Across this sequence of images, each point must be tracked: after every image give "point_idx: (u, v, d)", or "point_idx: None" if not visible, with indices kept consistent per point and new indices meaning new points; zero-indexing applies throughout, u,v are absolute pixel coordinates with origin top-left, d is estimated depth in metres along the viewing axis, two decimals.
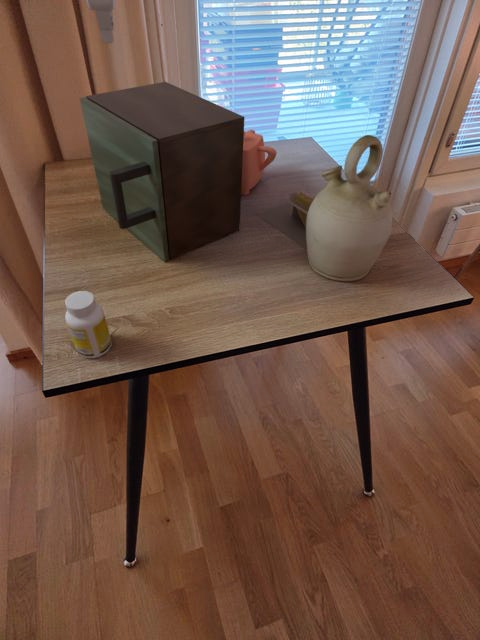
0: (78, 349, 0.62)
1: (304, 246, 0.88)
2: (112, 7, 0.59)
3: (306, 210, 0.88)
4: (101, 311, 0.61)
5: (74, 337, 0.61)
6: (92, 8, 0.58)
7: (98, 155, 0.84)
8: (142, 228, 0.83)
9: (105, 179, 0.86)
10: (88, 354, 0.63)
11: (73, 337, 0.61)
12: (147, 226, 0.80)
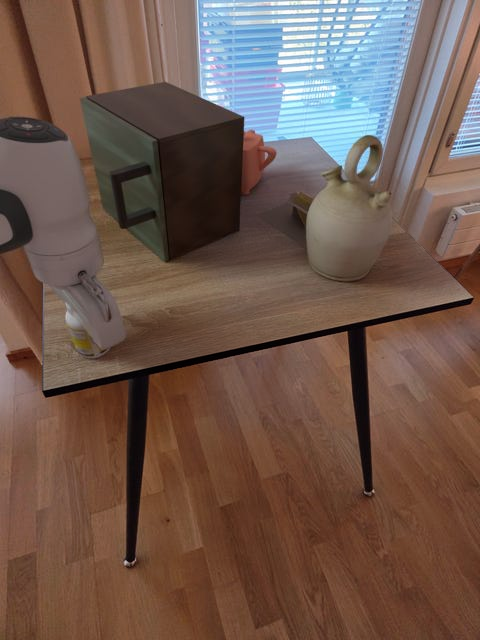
0: (78, 349, 0.62)
1: (304, 246, 0.88)
2: None
3: (306, 210, 0.88)
4: None
5: (74, 337, 0.61)
6: None
7: (98, 155, 0.84)
8: (142, 228, 0.83)
9: (105, 179, 0.86)
10: (88, 354, 0.63)
11: (73, 337, 0.61)
12: (147, 226, 0.80)
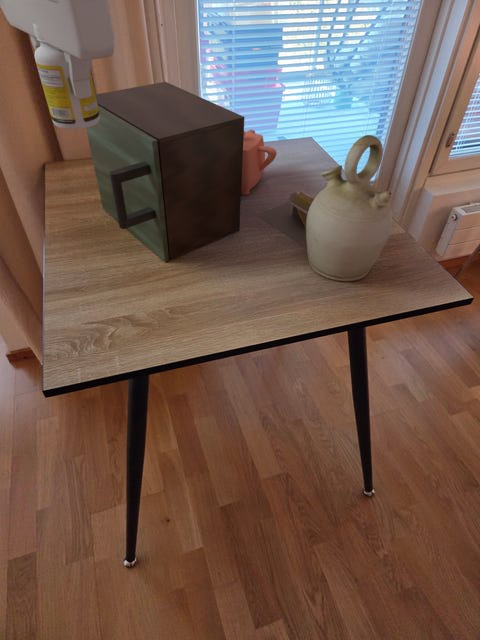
0: (54, 112, 0.47)
1: (304, 246, 0.88)
2: (9, 21, 0.48)
3: (306, 210, 0.88)
4: None
5: (48, 87, 0.45)
6: None
7: (98, 155, 0.84)
8: (142, 228, 0.83)
9: (105, 179, 0.86)
10: (68, 120, 0.47)
11: (46, 88, 0.45)
12: (147, 226, 0.80)
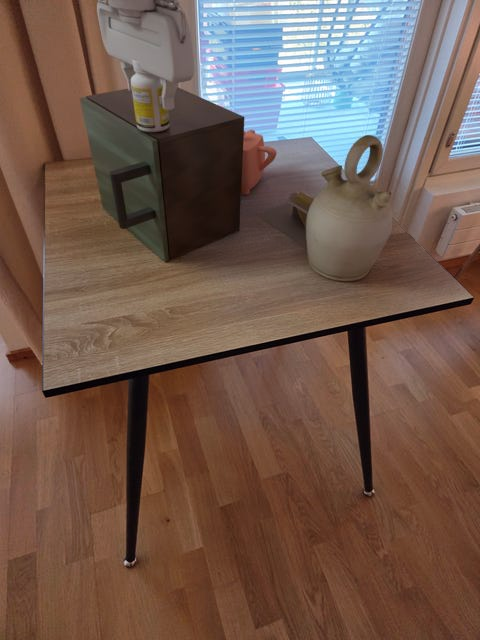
0: (140, 120, 0.66)
1: (304, 246, 0.88)
2: None
3: (306, 210, 0.88)
4: None
5: (139, 102, 0.64)
6: None
7: (98, 155, 0.84)
8: (142, 228, 0.83)
9: (105, 179, 0.86)
10: (150, 125, 0.66)
11: (137, 103, 0.65)
12: (147, 226, 0.80)
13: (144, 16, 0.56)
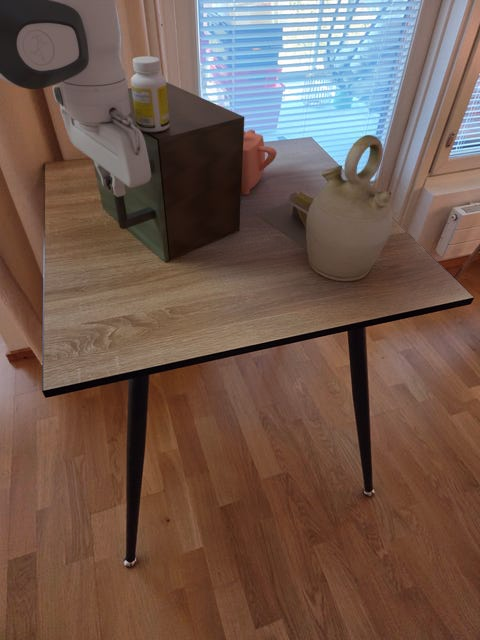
0: (140, 120, 0.66)
1: (304, 246, 0.88)
2: None
3: (306, 210, 0.88)
4: (164, 78, 0.64)
5: (139, 102, 0.64)
6: None
7: None
8: (142, 228, 0.83)
9: None
10: (150, 125, 0.66)
11: (137, 103, 0.65)
12: (147, 226, 0.80)
13: (101, 127, 0.58)
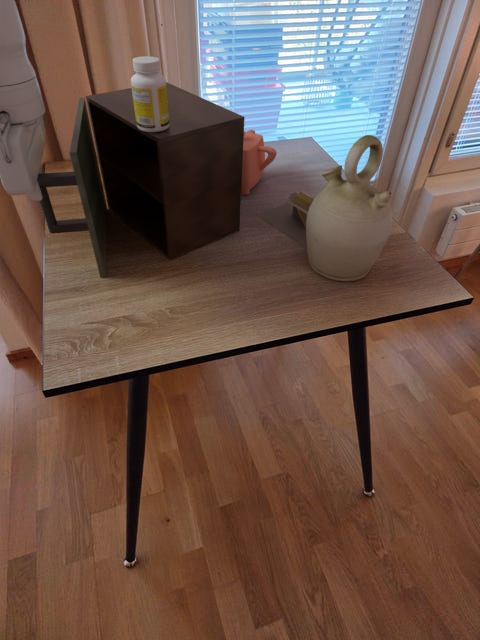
0: (140, 120, 0.66)
1: (304, 246, 0.88)
2: None
3: (306, 210, 0.88)
4: (164, 78, 0.64)
5: (139, 102, 0.64)
6: None
7: None
8: None
9: None
10: (150, 125, 0.66)
11: (137, 103, 0.65)
12: None
13: None
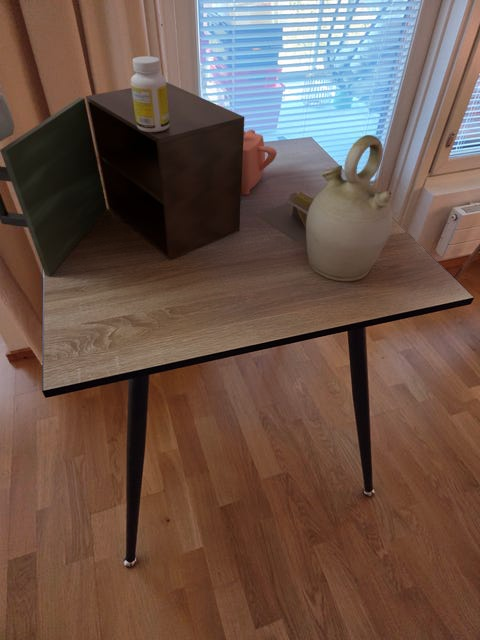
0: (140, 120, 0.66)
1: (304, 246, 0.88)
2: None
3: (306, 210, 0.88)
4: (164, 78, 0.64)
5: (139, 102, 0.64)
6: None
7: None
8: None
9: None
10: (150, 125, 0.66)
11: (137, 103, 0.65)
12: None
13: None
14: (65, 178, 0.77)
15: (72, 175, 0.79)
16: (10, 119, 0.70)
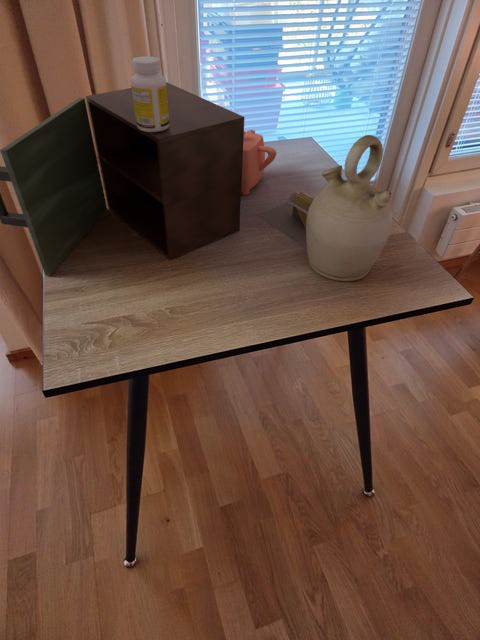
0: (140, 120, 0.66)
1: (304, 246, 0.88)
2: None
3: (306, 210, 0.88)
4: (164, 78, 0.64)
5: (139, 102, 0.64)
6: None
7: None
8: None
9: None
10: (150, 125, 0.66)
11: (137, 103, 0.65)
12: None
13: None
14: (65, 178, 0.77)
15: (72, 175, 0.79)
16: None
